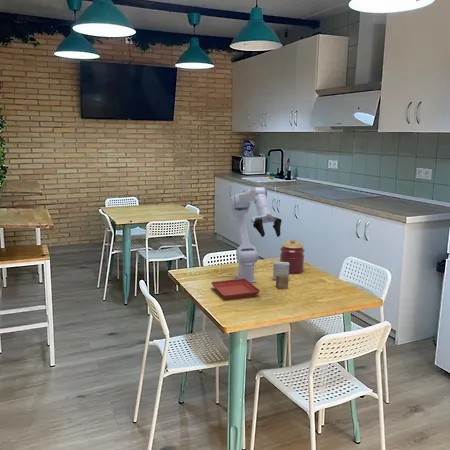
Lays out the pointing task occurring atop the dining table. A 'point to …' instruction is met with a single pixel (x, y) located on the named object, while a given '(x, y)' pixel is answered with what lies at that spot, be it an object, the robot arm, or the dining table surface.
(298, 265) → the canister
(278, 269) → the medicine box
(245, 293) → the plant saucer
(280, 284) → the walnut block
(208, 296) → the dining table surface
